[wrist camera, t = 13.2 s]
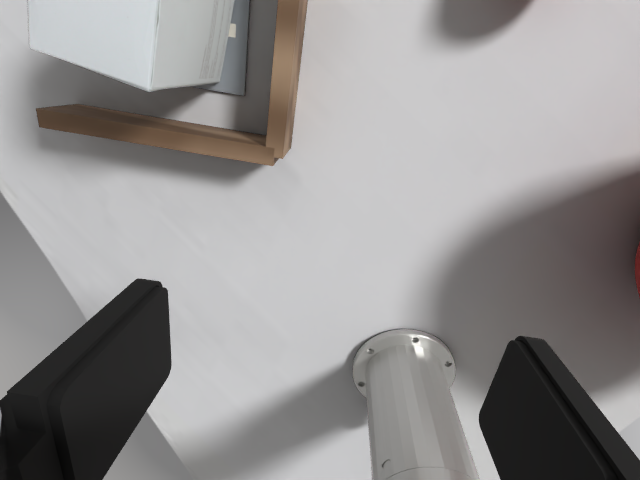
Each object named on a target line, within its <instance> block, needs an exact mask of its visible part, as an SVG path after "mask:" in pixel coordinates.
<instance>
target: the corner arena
mask: <svg viewBox="0 0 640 480" xmlns="http://www.w3.org/2000/svg"><path fill="white" fill-rule="evenodd" d="M307 2H308V0H278V7H277V19H276V31H275V43H274V55H273V66H272V78H271V90H270V102H269V114H268V126H267V136H266V135H260V134H254V133H248V132H242V131H236V130H230V129H224V128H218V127H212V126H206V125H200V124H194V123H188V122H182V121H176V120H170V119H164V118H158V117H152V116H146V115H140V114H134V113H128V112H122V111H116V110H110V109H104V108H98V107H92V106H86V105H80V104H73V105H64V106H55V107H46V108H36V111H37V117H38V122H39V127H41V128H47V129H53V130H59V131H65V132H71V133H78V134H84V135H90V136H96V137H102V138H108V139H114V140H120V141H126V142H132V143H138V144H144V145H150V146H156V147H162V148H168V149H174V150H180V151H186V152H192V153H198V154H204V155H210V156H216V157H222V158H228V159H234V160H240V161H246V162H252V163H258V164H264V165H270V166H273V165H274V164H275V163H276V161H277V160H278V159H279V158H281V159H283V157H284V156H285V155H286V153H287V152H288V151H289V149H290V148H291V142H292V133H293V124H294V116H295V107H296V98H297V89H298V81H299V72H300V63H301V54H302V46H303V37H304V28H305V19H306V11H307Z"/></svg>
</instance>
